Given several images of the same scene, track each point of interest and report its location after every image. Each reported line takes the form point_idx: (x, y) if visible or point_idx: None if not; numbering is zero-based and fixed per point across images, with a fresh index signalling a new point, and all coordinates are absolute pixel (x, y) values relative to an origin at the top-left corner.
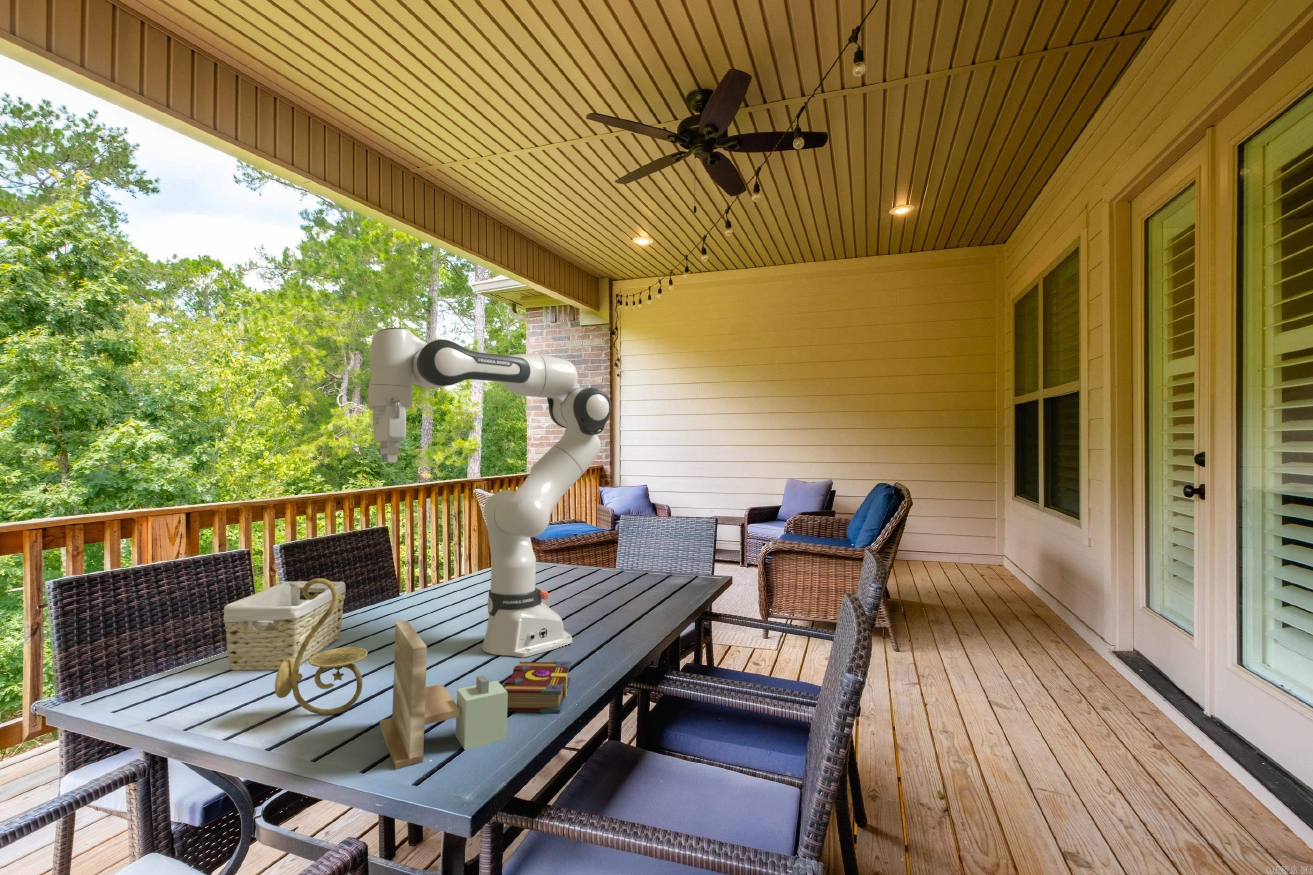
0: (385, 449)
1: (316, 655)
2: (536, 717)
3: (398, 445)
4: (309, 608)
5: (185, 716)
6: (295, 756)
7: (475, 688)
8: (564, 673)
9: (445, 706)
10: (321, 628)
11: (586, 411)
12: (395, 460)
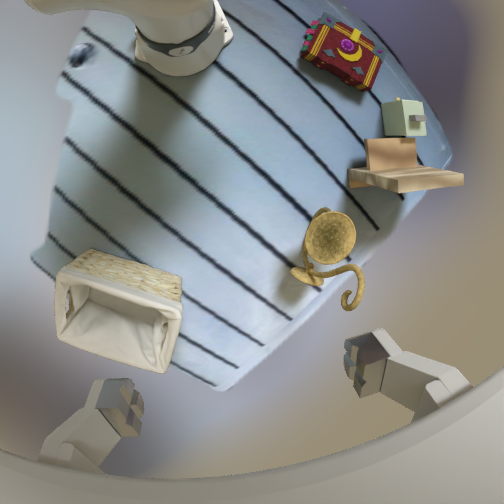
0: (92, 442)
1: (317, 259)
2: (378, 73)
3: (457, 375)
4: (155, 297)
5: (265, 327)
6: (367, 241)
7: (410, 121)
8: (354, 30)
9: (407, 146)
10: (125, 272)
11: None
12: (383, 336)
